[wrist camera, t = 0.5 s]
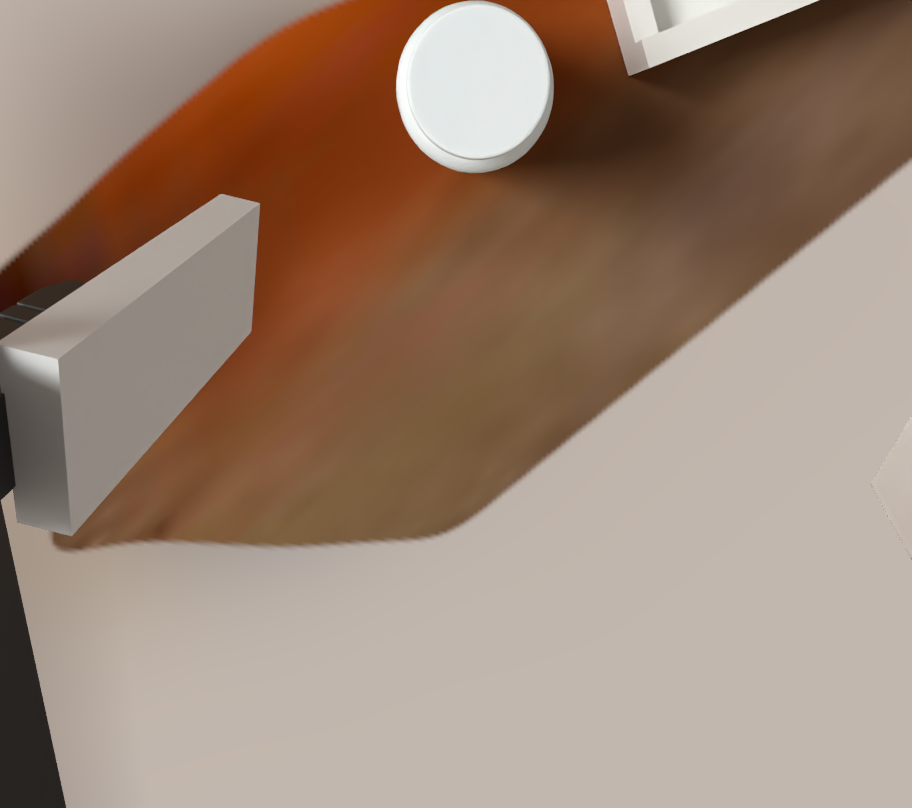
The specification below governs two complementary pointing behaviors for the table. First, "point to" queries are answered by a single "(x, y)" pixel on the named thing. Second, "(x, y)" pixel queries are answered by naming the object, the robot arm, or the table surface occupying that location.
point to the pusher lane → (685, 25)
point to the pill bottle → (475, 86)
